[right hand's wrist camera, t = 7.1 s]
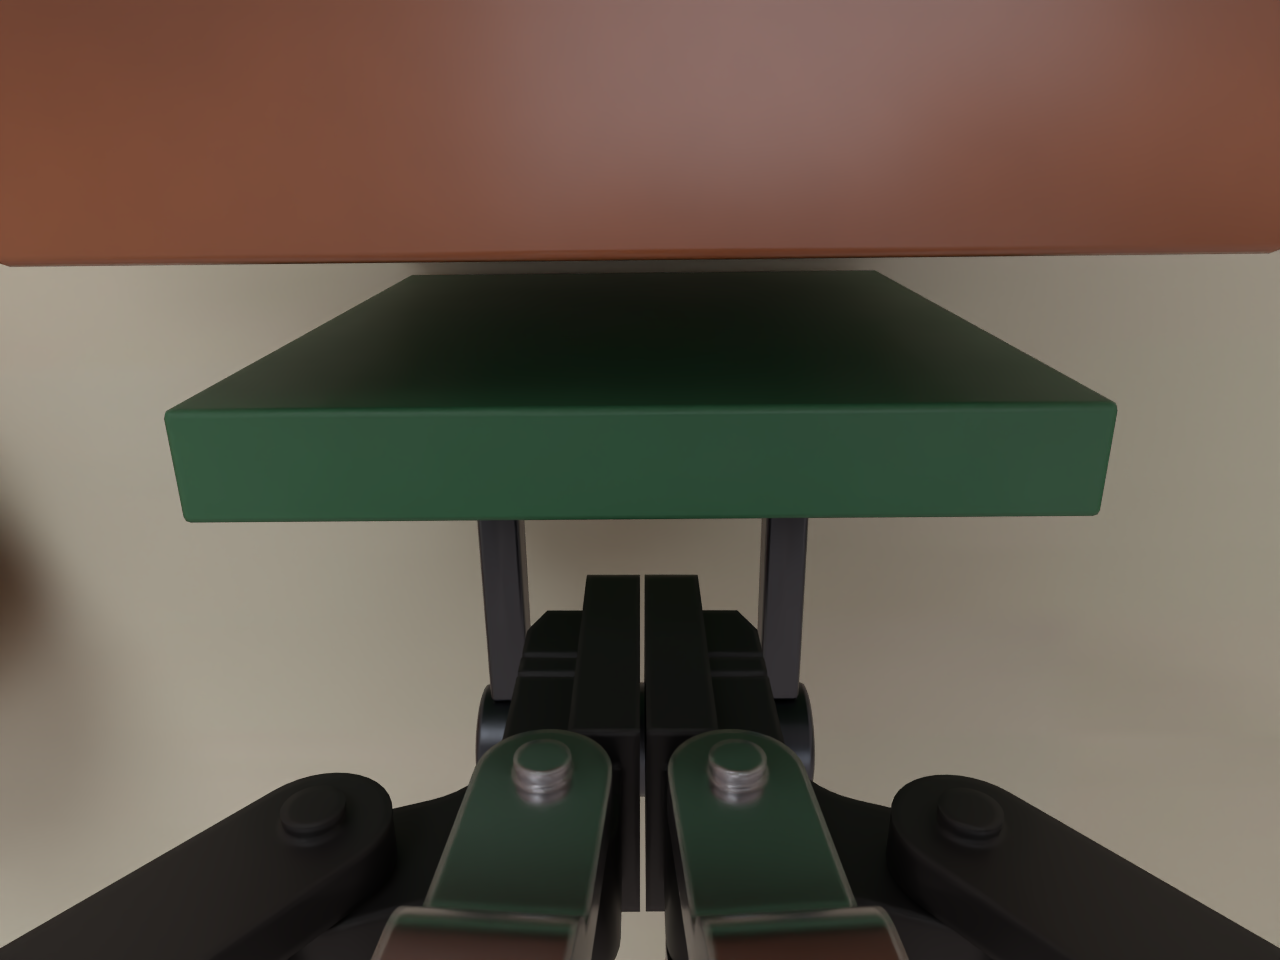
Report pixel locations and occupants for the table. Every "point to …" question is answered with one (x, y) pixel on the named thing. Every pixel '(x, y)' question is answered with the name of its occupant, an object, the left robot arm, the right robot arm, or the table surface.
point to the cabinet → (634, 130)
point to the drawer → (642, 427)
